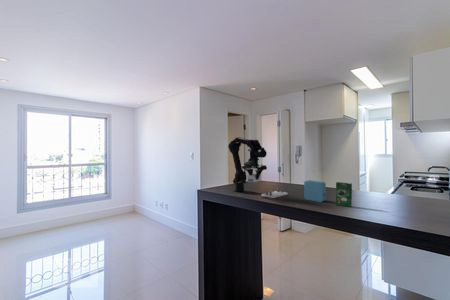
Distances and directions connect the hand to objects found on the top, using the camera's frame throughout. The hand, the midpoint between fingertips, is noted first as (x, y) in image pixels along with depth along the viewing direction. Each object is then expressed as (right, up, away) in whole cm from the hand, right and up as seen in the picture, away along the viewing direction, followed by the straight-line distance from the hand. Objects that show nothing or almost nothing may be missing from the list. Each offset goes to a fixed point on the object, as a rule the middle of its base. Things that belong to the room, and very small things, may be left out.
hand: (254, 179), depth 158 cm
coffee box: (+46, -11, -33) cm, 58 cm away
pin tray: (+14, -11, -1) cm, 18 cm away
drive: (0, -1, 0) cm, 1 cm away
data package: (+36, -11, -18) cm, 41 cm away
